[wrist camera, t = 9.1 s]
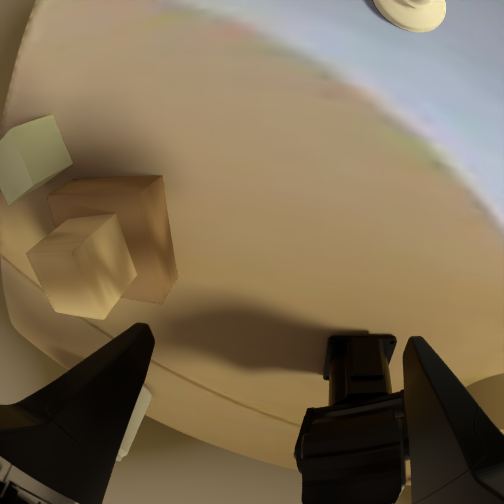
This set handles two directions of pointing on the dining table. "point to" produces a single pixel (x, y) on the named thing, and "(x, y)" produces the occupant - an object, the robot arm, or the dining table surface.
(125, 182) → the pedestal
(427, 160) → the dining table surface
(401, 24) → the chess piece
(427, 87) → the dining table surface
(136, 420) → the beverage can
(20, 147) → the sage block
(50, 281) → the oak cube
